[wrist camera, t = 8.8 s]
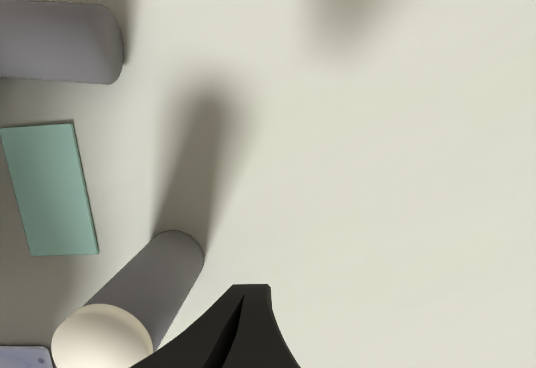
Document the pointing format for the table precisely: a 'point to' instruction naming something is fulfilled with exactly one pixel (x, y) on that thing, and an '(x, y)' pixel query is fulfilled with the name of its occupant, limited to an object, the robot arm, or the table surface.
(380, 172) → the table surface
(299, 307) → the table surface
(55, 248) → the pad
